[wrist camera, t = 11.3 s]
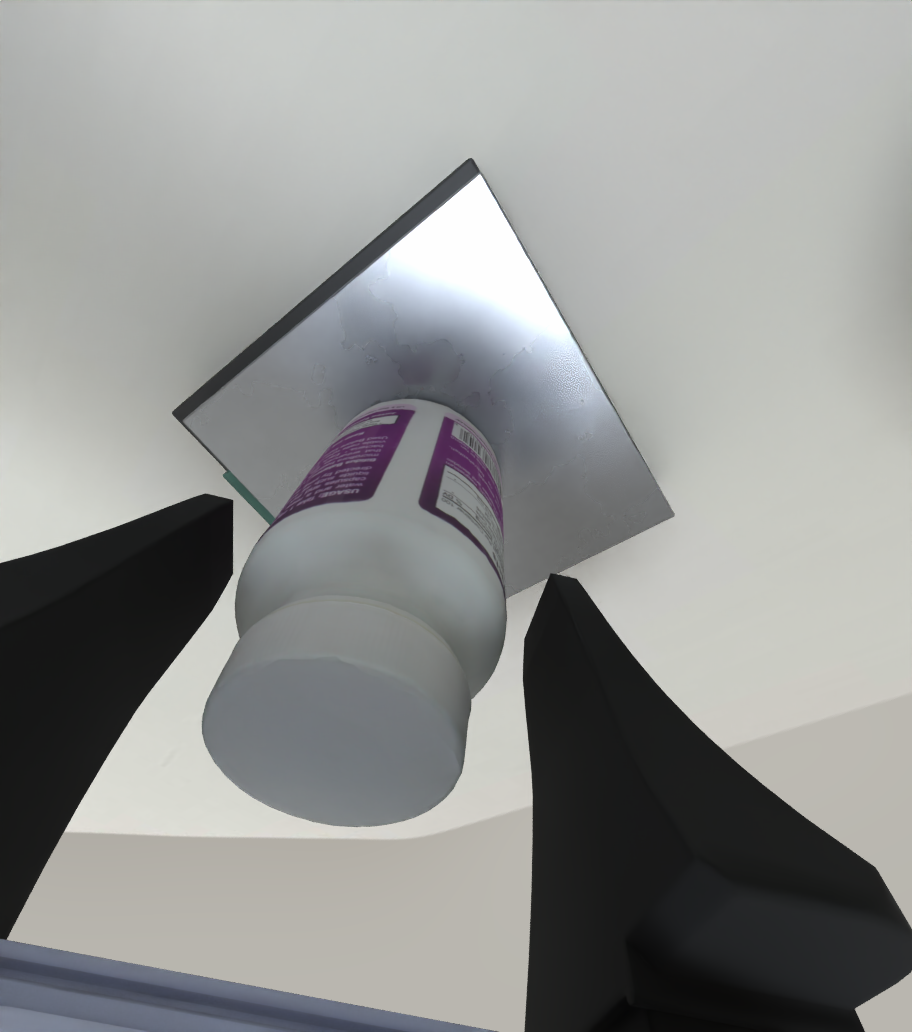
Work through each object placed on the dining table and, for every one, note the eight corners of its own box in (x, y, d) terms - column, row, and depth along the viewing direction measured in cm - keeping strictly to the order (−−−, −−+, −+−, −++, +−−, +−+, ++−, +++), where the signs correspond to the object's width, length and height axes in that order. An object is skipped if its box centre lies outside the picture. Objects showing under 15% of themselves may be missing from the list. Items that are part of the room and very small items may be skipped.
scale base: (401, 617, 23) (391, 657, 21) (197, 397, 18) (159, 419, 16) (656, 486, 19) (676, 518, 17) (474, 163, 14) (470, 152, 12)
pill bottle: (332, 538, 17) (176, 830, 9) (331, 382, 15) (107, 591, 6) (490, 559, 17) (482, 873, 9) (517, 408, 15) (543, 651, 6)
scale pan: (403, 639, 20) (400, 650, 20) (191, 415, 16) (181, 421, 16) (670, 507, 16) (675, 516, 16) (481, 172, 12) (480, 171, 12)
